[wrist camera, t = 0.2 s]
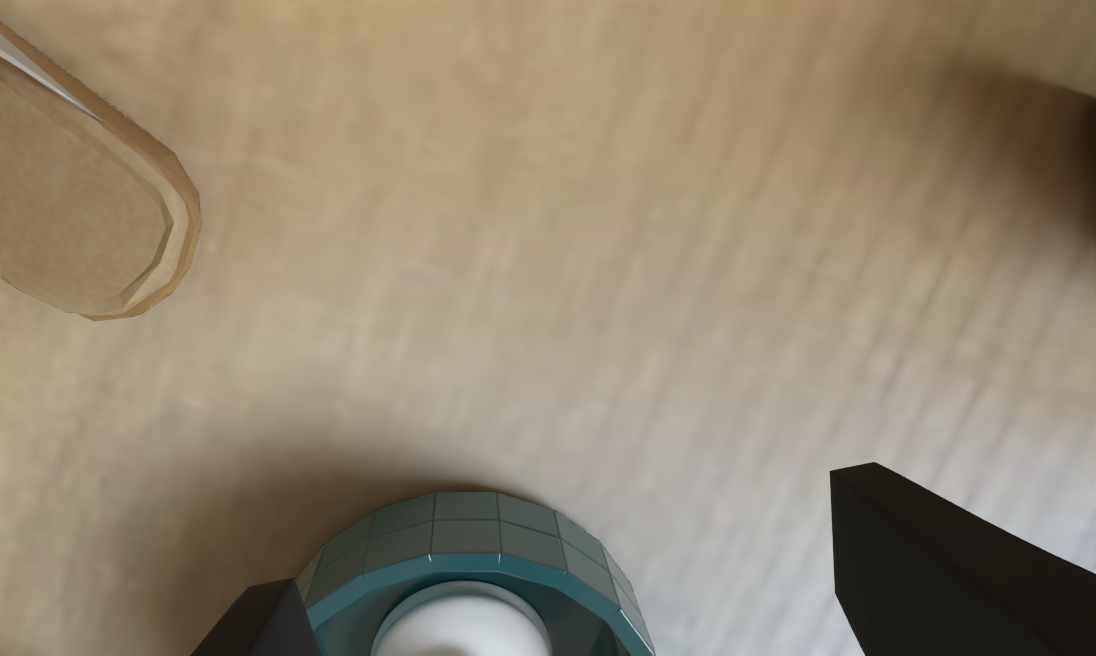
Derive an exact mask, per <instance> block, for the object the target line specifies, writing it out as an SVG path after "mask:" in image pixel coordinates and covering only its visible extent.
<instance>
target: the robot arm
mask: <svg viewBox="0 0 1096 656" xmlns="http://www.w3.org/2000/svg"><path fill="white" fill-rule="evenodd" d="M830 487H831V510H832V533H833V556H834V579H835V594H836V596H837V598H838V600H839V602H840V604H841V607H842V609H843V611H844V613H845V615H846V617H847V619H848V621H849V624H850V626H851V628H852V630H853V632H854V634H855V636H856V638H857V640H858V642H859V644H860V646H861V648H862V650H863V652H864V654H865V656H1096V574H1095V573H1092V572H1090V571H1088V570H1086V569H1084V568H1081V567H1079V566H1077V565H1075V564H1073V563H1070V562H1068V561H1066V560H1064V559H1062V558H1060V557H1057V556H1055V555H1053V554H1051V553H1049V552H1047V551H1045V550H1043V549H1041V548H1039V547H1037V546H1035V545H1032V544H1030V543H1028V542H1026V541H1024V540H1022V539H1020V538H1018V537H1016V536H1014V535H1012V534H1010V533H1008V532H1006V531H1005V530H1003V529H1001V528H999V527H997V526H995V525H993V524H991V523H989V522H987V521H985V520H983V519H981V518H980V517H978V516H976V515H974V514H972V513H970V512H968V511H966V510H964V509H963V508H961V507H959V506H957V505H955V504H953V503H951V502H950V501H948V500H946V499H944V498H942V497H940V496H938V495H937V494H935V493H933V492H931V491H929V490H927V489H925V488H924V487H922V486H920V485H918V484H916V483H914V482H913V481H911V480H909V479H907V478H905V477H903V476H901V475H899V474H898V473H896V472H894V471H892V470H890V469H888V468H886V467H884V466H882V465H880V464H878V463H875V462H872V463H867V464H862V465H857V466H852V467H847V468H842V469H837V470H832V471H830ZM190 656H322V655H321V652H320V649H319V647H318V644H317V641H316V638H315V635H314V632H313V629H312V627H311V624H310V621H309V618H308V615H307V612H306V610H305V607H304V604H303V601H302V598H301V595H300V592H299V590H298V587H297V584H296V581H295V578H290V579H285V580H280V581H275V582H270V583H265V584H260V585H255V586H250V587H248V588H247V589H246V590H245V591H244V592H243V593H242V594H241V596H240V597H239V598H238V599H237V600H236V601H235V602H234V603H233V605H232V606H231V607H230V608H229V609H228V611H227V612H226V613H225V614H224V615H223V617H222V618H221V619H220V620H219V621H218V623H217V624H216V625H215V626H214V627H213V629H212V630H211V631H210V632H209V633H208V635H207V636H206V637H205V638H204V639H203V641H202V642H201V643H200V644H199V646H198V647H197V648H196V649H195V650H194V652H193V653H192V654H191V655H190Z"/></svg>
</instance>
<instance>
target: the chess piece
mask: <svg viewBox="0 0 1096 656" xmlns="http://www.w3.org/2000/svg"><path fill="white" fill-rule="evenodd" d="M371 656H553V655H552V645H551V640H550V637H549V634H548V631H547V629H546V627H545V625H544V623H543V621H542V619H541V618H540V617H539V615H538V614H537V613H536V611H535V610H534V609H533V608H532V607H531V606H530V605H529V604H528V603H527V602H526V601H524V600H523V599H522V598H520V597H519V596H517V595H516V594H514V593H512V592H510V591H508V590H506V589H504V588H502V587H499V586H496V585H493V584H489V583H485V582H479V581H451V582H445V583H441V584H437V585H433V586H430V587H428V588H425V589H423V590H421V591H419V592H417V593H415V594H413V595H411V596H410V597H408V598H407V599H405V600H404V601H403V602H401V603H400V604H399V605H398V606H397V607H396V608H395V609H394V610H393V611H392V612H391V613H390V614H389V615H388V616H387V618H386V619H385V620H384V622H383V623H382V625H381V626H380V628H379V630H378V632H377V634H376V637H375V639H374V642H373V646H372V650H371Z"/></svg>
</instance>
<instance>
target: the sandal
mask: <svg viewBox="0 0 1096 656" xmlns="http://www.w3.org/2000/svg"><path fill="white" fill-rule="evenodd" d="M201 224H202V220H201V214H200V201H199V193H198V192H197V190H196V188H195V187H194V185H193V184H192V182H191V180H190V179H189V177H188V175H187V174H186V172H185V170H184V169H183V167H182V165H181V164H180V162H179V161H178V159H177V157H176V156H175V154H174V153H173V152H172V151H170V150H169V149H168V148H166V147H165V146H164V145H162V144H161V143H160V142H158V141H157V140H156V139H154V138H153V137H152V136H150V135H149V134H148V133H146V132H145V131H144V130H142V129H141V128H140V127H138V126H137V125H136V124H134V123H133V122H132V121H130V120H129V119H128V118H126V117H125V116H124V115H122V114H121V113H120V112H118V111H117V110H116V109H114V108H113V107H112V106H110V105H109V104H108V103H106V102H105V101H104V100H102V99H101V98H100V97H98V96H97V95H96V94H94V93H93V92H92V91H90V90H89V89H88V88H86V87H85V86H84V85H82V84H81V83H80V82H78V81H77V80H76V79H74V78H73V77H72V76H71V75H69V74H68V73H67V72H65V71H64V70H63V69H61V68H60V67H59V66H57V65H56V64H55V63H53V62H52V61H51V60H49V59H48V58H47V57H46V56H44V55H43V54H42V53H40V52H39V51H38V50H36V49H35V48H34V47H32V46H31V45H30V44H28V43H27V42H26V41H24V40H23V39H22V38H21V37H19V36H18V35H17V34H15V33H14V32H13V31H11V30H10V29H9V28H7V27H6V26H5V25H3V24H2V23H1V22H0V278H2V279H3V280H5V281H6V282H8V283H9V284H11V285H12V286H14V287H15V288H17V289H18V290H20V291H22V292H24V293H26V294H28V295H30V296H32V297H35V298H37V299H39V300H41V301H43V302H45V303H47V304H50V305H52V306H54V307H56V308H58V309H60V310H63V311H65V312H67V313H75V314H78V315H81V316H83V317H85V318H88V319H90V320H93V321H101V320H109V319H117V318H126V317H134V316H136V315H139V314H141V313H144V312H145V311H147V310H148V309H150V308H151V307H153V306H154V305H156V304H157V303H158V302H160V301H161V300H163V299H164V298H166V297H167V296H169V295H170V294H172V292H173V291H174V289H175V288H176V287H177V285H178V284H179V282H180V281H181V279H182V278H183V276H184V275H185V273H186V272H187V271H188V269H189V268H190V264H191V260H192V257H193V253H194V249H195V246H196V242H197V238H198V235H199V231H200V227H201Z"/></svg>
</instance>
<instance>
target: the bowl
mask: <svg viewBox="0 0 1096 656" xmlns="http://www.w3.org/2000/svg"><path fill="white" fill-rule="evenodd" d="M295 581H296V584H297V587H298V590H299V592H300V595H301V598H302V601H303V604H304V607H305V610H306V612H307V615H308V618H309V621H310V624H311V627H312V629H313V632H314V635H315V638H316V641H317V644H318V647H319V649H320V652H321V655H322V656H371V650H372V646H373V642H374V639H375V637H376V634H377V632H378V630H379V628H380V626H381V625H382V623H383V622H384V620H385V619H386V618H387V616H388V615H389V614H390V613H391V612H392V611H393V610H394V609H395V608H396V607H397V606H398V605H399V604H400V603H401V602H403V601H404V600H405V599H407V598H408V597H410V596H411V595H413V594H415V593H417V592H419V591H421V590H423V589H425V588H428V587H430V586H433V585H437V584H441V583H445V582H451V581H479V582H485V583H489V584H493V585H496V586H499V587H502V588H504V589H506V590H508V591H510V592H512V593H514V594H516V595H517V596H519V597H520V598H522V599H523V600H524V601H526V602H527V603H528V604H529V605H530V606H531V607H532V608H533V609H534V610H535V611H536V613H537V614H538V615H539V617H540V618H541V619H542V621H543V623H544V625H545V627H546V629H547V631H548V634H549V637H550V640H551V645H552V655H553V656H656V654H655V651H654V648H653V645H652V642H651V639H650V636H649V634H648V631H647V628H646V625H645V622H644V620H643V617H642V614H641V611H640V608H639V605H638V603H637V600H636V597H635V594H634V591H633V588H632V587H631V584H630V582H629V581H628V579H627V578H626V576H625V575H624V574H623V572H622V571H621V570H620V568H619V567H618V565H617V564H616V563H615V561H614V560H613V559H612V557H611V556H610V554H609V553H608V552H607V550H606V549H605V548H604V546H603V545H602V543H600V542H599V540H597V539H596V538H594V537H593V536H592V535H590V534H589V533H587V532H586V531H584V530H583V529H581V528H580V527H579V526H577V525H576V524H574V523H573V522H571V521H570V520H569V519H567V518H566V517H564V516H563V515H561V514H560V513H558V512H557V511H556V510H552V509H550V508H547V507H543V506H540V505H537V504H534V503H530V502H527V501H524V500H520V499H517V498H514V497H511V496H507V495H504V494H501V493H497V494H496V492H436V494H435V493H434V492H433V493H430V494H426V495H423V496H419V497H416V498H413V499H409V500H406V501H403V502H399V503H396V504H392V505H389V506H386V507H382V508H379V509H377V510H376V511H374V512H372V513H370V514H369V515H367V516H366V517H364V518H363V519H361V520H360V521H358V522H357V523H355V524H354V525H352V526H350V527H349V528H347V529H346V530H344V531H343V532H341V533H340V534H338V535H337V536H335V537H334V538H332V539H331V540H329V541H328V542H327V544H325V545H323V546H322V548H321V549H320V550H319V551H318V553H317V554H316V555H315V557H314V558H313V559H312V560H311V562H310V563H309V564H308V565H307V567H306V568H305V569H304V570H303V572H302V573H301V574H300V575H299V577H298V578H297V579H296V580H295Z"/></svg>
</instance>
